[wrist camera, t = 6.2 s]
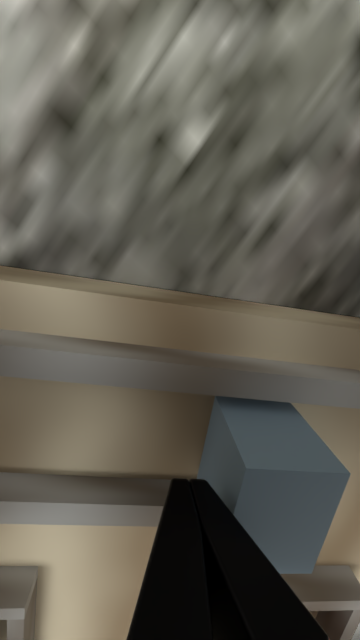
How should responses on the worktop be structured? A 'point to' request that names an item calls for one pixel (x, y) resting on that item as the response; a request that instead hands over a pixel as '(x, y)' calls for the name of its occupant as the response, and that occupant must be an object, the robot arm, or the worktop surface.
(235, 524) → the robot arm
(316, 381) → the control panel
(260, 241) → the worktop surface
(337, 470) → the slider knob
